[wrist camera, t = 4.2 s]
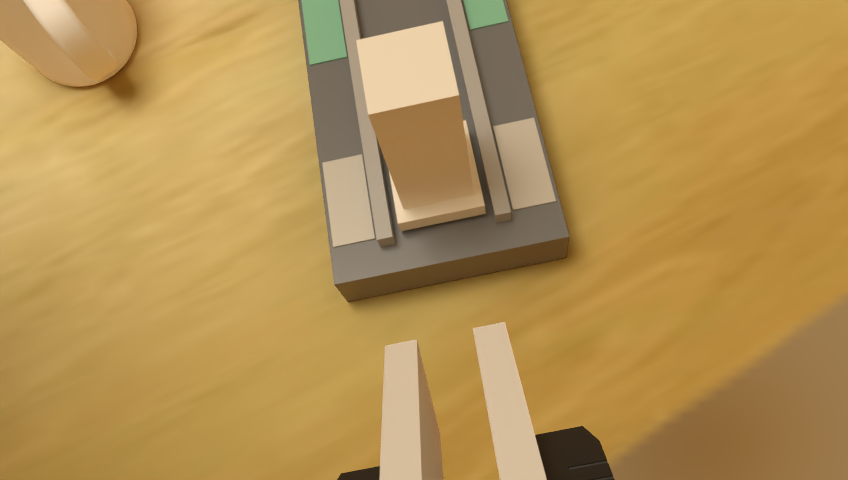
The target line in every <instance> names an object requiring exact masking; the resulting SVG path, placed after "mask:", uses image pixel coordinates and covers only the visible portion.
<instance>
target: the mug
mask: <svg viewBox="0 0 848 480" xmlns="http://www.w3.org/2000/svg"><path fill="white" fill-rule="evenodd" d="M136 39H137V23H136V18H135V15H134V12H133V10H132V8H131V6H130V4H129V3H128V2H127V0H0V40H1V41H3V42H4V43H5V44H6V45H7V46H8V47H10V48H11V49H12V50H13V51H15V52H16V53H17V54H18V55H20V56H21V57H22V58H23V59H25V60H26V61H27V62H29V63H30V64H32V65H33V66H34V67H35V68H36V69H37V70H38V71H39V72H40V73H41V74H43V75H44V76H45V77H47V78H48V79H50V80H52V81H54V82H56V83H59V84H62V85H66V86H73V87H84V86H90V85H94V84H98V83H100V82H103V81H105V80H107V79H109V78H110V77H112V76H113V75H115V74H116V73H117V72H118V71H119V70H120V69H121V68H122V67H123V66H124V65H125V64H126V63H127V61H128V60H129V58H130V56H131V54H132V52H133V50H134V47H135V44H136Z"/></svg>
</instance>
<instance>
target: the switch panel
mask: <svg viewBox="0 0 848 480" xmlns="http://www.w3.org/2000/svg"><path fill="white" fill-rule="evenodd" d="M298 1H299V9H300V17H301V25H302V33H303V41H304V49H305V56H306V64H307V72H308V80H309V88H310V96H311V104H312V112H313V119H314V127H315V135H316V143H317V151H318V159H319V167H320V174H321V182H322V190H323V198H324V206H325V214H326V222H327V230H328V237H329V245H330V253H331V261H332V269H333V277H334V285H335V286H336V287H337V288H338V290H339V291H340V292H341V294H342V295H343V296H344V298H345V299H346V300H347V302H350V301H355V300H359V299H364V298H369V297H374V296H379V295H384V294H389V293H394V292H399V291H404V290H409V289H414V288H419V287H424V286H429V285H434V284H439V283H443V282H448V281H453V280H458V279H463V278H468V277H473V276H478V275H483V274H488V273H493V272H498V271H503V270H508V269H513V268H518V267H523V266H527V265H532V264H537V263H542V262H547V261H552V260H557V259H562V258H566V256H567V249H568V242H569V233H568V230H567V226H566V222H565V218H564V215H563V211H562V207H561V203H560V200H559V196H558V192H557V189H556V185H555V181H554V177H553V174H552V170H551V166H550V162H549V159H548V155H547V151H546V147H545V144H544V140H543V136H542V132H541V129H540V125H539V121H538V117H537V114H536V110H535V106H534V102H533V99H532V95H531V91H530V87H529V84H528V80H527V76H526V72H525V69H524V65H523V61H522V57H521V54H520V50H519V46H518V42H517V39H516V35H515V31H514V27H513V24H512V20H511V16H510V12H509V9H508V5H507V1H506V0H298ZM441 21H443V24H444V29H445V33H446V38H447V42H448V47H449V52H450V56H451V61H452V65H453V70H454V74H455V79H456V83H457V88H458V92H459V98H460V104H461V111H462V117H463V121H464V120H466V123H467V127H468V132H469V136H470V141H471V145H472V150H473V154H474V159H475V163H476V168H477V172H478V177H479V182H480V186H481V191H482V195H483V200H484V204H485V211H486V214H482V215H477V216H473V217H468V218H463V219H458V220H453V221H448V222H444V223H439V224H434V225H429V226H424V227H419V228H415V229H410V230H405V231H401V230H400V228H399V225H398V222H397V216H396V210H395V204H394V198H393V192H392V186H391V180H390V174H389V169H388V167H387V164H386V161H385V159H384V156H383V153H382V151H381V148H380V145H379V143H378V140H377V137H376V135H375V132H374V129H373V127H372V124H371V121H370V118H369V116H368V111H367V105H366V99H365V93H364V86H363V80H362V74H361V68H360V62H359V55H358V49H357V43H356V40H359V39H364V38H368V37H373V36H377V35H382V34H386V33H391V32H396V31H400V30H405V29H409V28H414V27H418V26H423V25H427V24H432V23H436V22H441Z"/></svg>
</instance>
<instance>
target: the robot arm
mask: <svg viewBox="0 0 848 480" xmlns="http://www.w3.org/2000/svg"><path fill="white" fill-rule="evenodd" d="M473 332H474V338H475V343H476V349H477V354H478V360H479V366H480V371H481V377H482V382H483V388H484V393H485V399H486V405H487V410H488V416H489V421H490V427H491V432H492V438H493V443H494V449H495V455H496V460H497V466H498V471H499V477H500V480H614V478H613V474H612V472H611V469H610V467H609V464H608V463H607V459H606V456H605V454H604V451H603V449H602V446H601V444H600V441H599V440H598V439H597V438H596V437H595V436H593V435H592V434H591V433H590V432H589V431H588V430H586V429H585V428H584V427H583V426H580V427H575V428H570V429H564V430H559V431H554V432H548V433H543V434H538V435H535V434H534V430H533V426H532V422H531V419H530V415H529V411H528V407H527V404H526V400H525V396H524V392H523V389H522V385H521V381H520V377H519V373H518V370H517V366H516V362H515V358H514V355H513V351H512V347H511V343H510V340H509V336H508V332H507V328H506V325H505V322H502V323H497V324H492V325H487V326H481V327H476V328H473ZM337 480H443V468H442V455H441V441H440V432H439V428H438V424H437V419H436V415H435V411H434V407H433V403H432V399H431V395H430V391H429V387H428V383H427V379H426V375H425V371H424V367H423V363H422V359H421V355H420V351H419V347H418V342H417V339H416V340H411V341H406V342H401V343H396V344H391V345H386V346H385V361H384V385H383V408H382V432H381V455H380V466H378V467H373V468H368V469H362V470H357V471H352V472H347V473H341V474H340V476H339V478H338V479H337Z"/></svg>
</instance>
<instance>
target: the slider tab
mask: <svg viewBox="0 0 848 480" xmlns="http://www.w3.org/2000/svg"><path fill="white" fill-rule="evenodd" d="M356 43H357V49H358V55H359V62H360V68H361V74H362V80H363V86H364V93H365V99H366V105H367V111H368V116H369V118H370V121H371V124H372V127H373V129H374V132H375V135H376V137H377V140H378V143H379V145H380V148H381V151H382V153H383V156H384V159H385V161H386V164H387V167H388V169H389V174H390V180H391V186H392V192H393V198H394V204H395V210H396V216H397V222H398V225H399V228H400V230H401V231H405V230H410V229H415V228H419V227H424V226H429V225H434V224H439V223H444V222H448V221H453V220H458V219H463V218H468V217H473V216H477V215H482V214H486V211H485V204H484V200H483V195H482V191H481V186H480V182H479V177H478V172H477V168H476V163H475V159H474V154H473V150H472V145H471V141H470V136H469V132H468V127H467V123H466V120H464V121H463V117H462V111H461V104H460V98H459V92H458V88H457V83H456V79H455V74H454V70H453V65H452V61H451V56H450V52H449V47H448V42H447V38H446V33H445V29H444V24H443V21H441V22H436V23H432V24H427V25H423V26H418V27H414V28H409V29H405V30H400V31H396V32H391V33H386V34H382V35H377V36H373V37H368V38H364V39H359V40H356Z"/></svg>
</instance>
